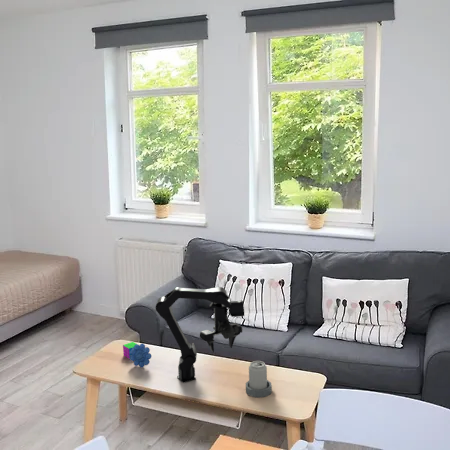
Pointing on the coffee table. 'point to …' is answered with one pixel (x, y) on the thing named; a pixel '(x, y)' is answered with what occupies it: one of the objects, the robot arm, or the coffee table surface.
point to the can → (257, 375)
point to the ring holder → (259, 391)
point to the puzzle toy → (128, 349)
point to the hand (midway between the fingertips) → (221, 350)
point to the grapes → (140, 355)
